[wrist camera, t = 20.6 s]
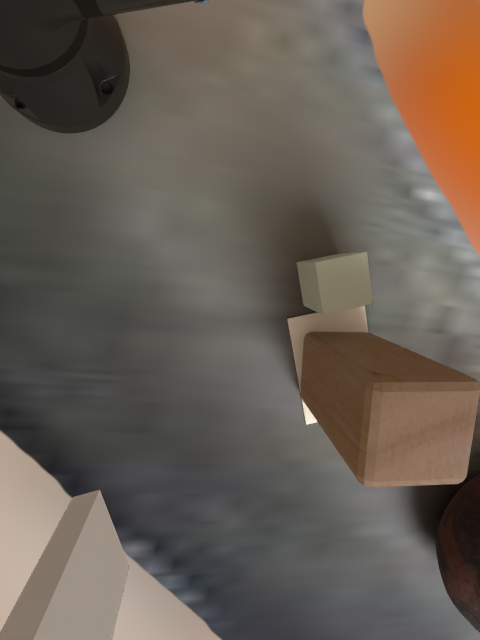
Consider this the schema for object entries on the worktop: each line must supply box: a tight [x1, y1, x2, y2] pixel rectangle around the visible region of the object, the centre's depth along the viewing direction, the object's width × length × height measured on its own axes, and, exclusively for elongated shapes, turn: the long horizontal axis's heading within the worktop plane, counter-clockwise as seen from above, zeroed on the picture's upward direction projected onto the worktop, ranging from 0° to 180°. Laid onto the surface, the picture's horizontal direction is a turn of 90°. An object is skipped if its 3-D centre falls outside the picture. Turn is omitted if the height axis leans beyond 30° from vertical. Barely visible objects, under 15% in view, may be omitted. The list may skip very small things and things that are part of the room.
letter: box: [287, 306, 368, 425], centre depth 48 cm, size 16×11×1 cm
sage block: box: [296, 252, 373, 315], centre depth 42 cm, size 6×6×8 cm
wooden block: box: [300, 332, 480, 487], centre depth 38 cm, size 10×10×20 cm
